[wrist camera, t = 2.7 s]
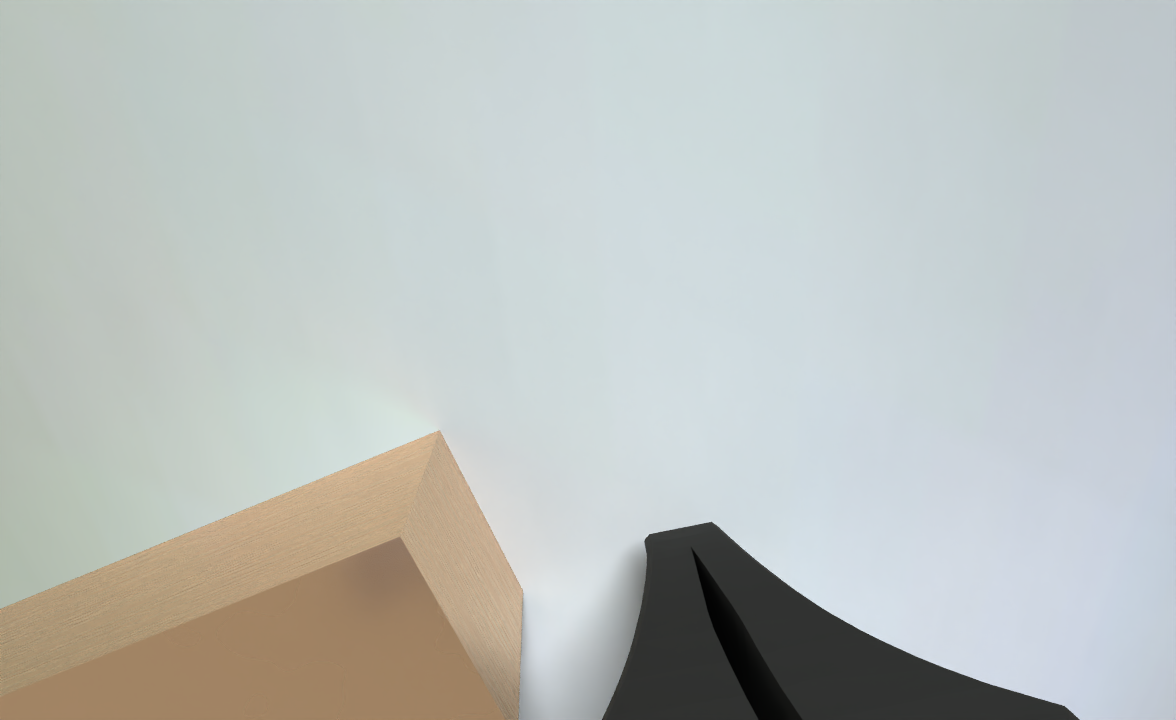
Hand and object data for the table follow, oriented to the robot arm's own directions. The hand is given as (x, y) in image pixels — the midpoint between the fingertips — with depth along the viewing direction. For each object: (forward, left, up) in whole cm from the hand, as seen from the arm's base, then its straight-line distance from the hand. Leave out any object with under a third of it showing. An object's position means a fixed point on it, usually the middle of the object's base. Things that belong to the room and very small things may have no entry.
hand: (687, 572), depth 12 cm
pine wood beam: (0, +11, -2) cm, 11 cm away
